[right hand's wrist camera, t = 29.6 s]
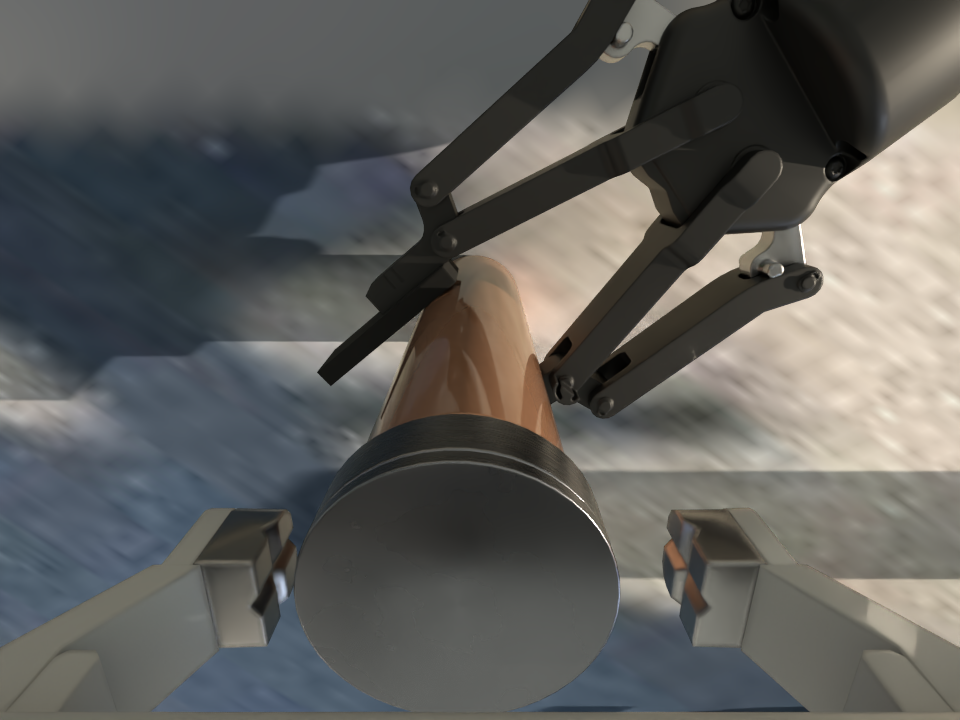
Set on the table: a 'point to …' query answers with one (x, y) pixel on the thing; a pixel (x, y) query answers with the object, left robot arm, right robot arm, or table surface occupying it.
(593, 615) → the lid
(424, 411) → the copper grooved cylinder
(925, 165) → the table surface
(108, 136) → the table surface
